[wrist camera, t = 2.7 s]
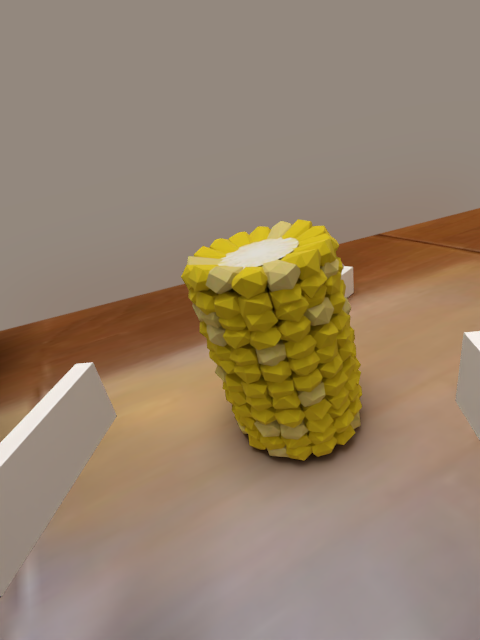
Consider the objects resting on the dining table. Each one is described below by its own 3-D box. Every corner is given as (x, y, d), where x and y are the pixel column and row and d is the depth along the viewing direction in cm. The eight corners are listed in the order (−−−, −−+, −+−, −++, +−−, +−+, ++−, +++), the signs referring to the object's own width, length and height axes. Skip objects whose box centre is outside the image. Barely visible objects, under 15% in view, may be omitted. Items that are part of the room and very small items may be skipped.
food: (376, 475, 23) (229, 480, 25) (348, 346, 31) (241, 358, 34) (378, 291, 13) (138, 325, 15) (337, 180, 22) (188, 212, 24)
